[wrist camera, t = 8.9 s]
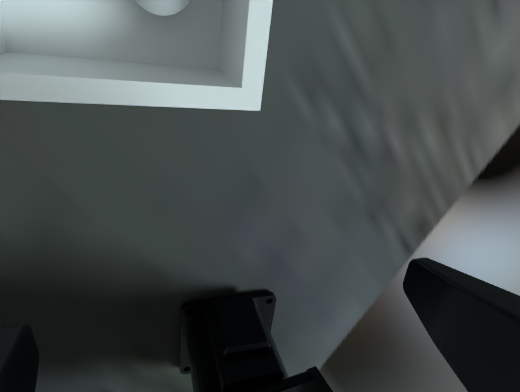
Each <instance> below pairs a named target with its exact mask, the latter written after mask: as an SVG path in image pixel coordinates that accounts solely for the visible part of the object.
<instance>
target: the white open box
mask: <svg viewBox="0 0 520 392" xmlns="http://www.w3.org/2000/svg"><path fill="white" fill-rule="evenodd" d="M272 3H273V0H0V100H19V101H42V102H66V103H89V104H113V105H136V106H160V107H183V108H206V109H230V110H253V111H260V107H261V99H262V90H263V81H264V73H265V64H266V55H267V46H268V38H269V29H270V20H271V12H272Z"/></svg>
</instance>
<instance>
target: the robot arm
mask: <svg viewBox="0 0 520 392" xmlns="http://www.w3.org/2000/svg"><path fill="white" fill-rule="evenodd" d="M403 289H404V292H405V294H406V295H407V297H408V299H409V301H410V302H411V304H412V306H413V308H414V310H415V311H416V313H417V315H418V316H419V318H420V320H421V322H422V323H423V325H424V327H425V328H426V330H427V332H428V334H429V335H430V337H431V339H432V341H433V342H434V344H435V345H436V347H437V348H438V350H439V351H440V353H441V354H442V356H443V357H444V358H445V360H446V361H447V363H448V364H449V365H450V367H451V368H452V370H453V371H454V373H455V374H456V375H457V377H458V378H459V380H460V381H461V383H462V384H463V386H464V387H465V388H466V390H467V391H468V392H520V296H519V295H516V294H514V293H511V292H509V291H506V290H504V289H501V288H499V287H497V286H494V285H492V284H489V283H487V282H485V281H482V280H480V279H477V278H475V277H472V276H470V275H467V274H465V273H463V272H460V271H458V270H455V269H453V268H451V267H448V266H445V265H443V264H441V263H438V262H436V261H434V260H431V259H429V258H418V259H413V260H411V261H410V263H409V265H408V268H407V271H406V275H405V278H404V281H403ZM269 298H270V299H269ZM267 299H268V300H267ZM275 304H276V297H275V295H274V293H273V292H262V293H254V294H246V295H238V296H230V297H222V298H214V299H206V300H198V301H190V302H186V303H184V304H183V305H182V306H181V311H180V360H179V367H180V372H181V373H182V374H189V373H191V377H192V384H193V391H194V392H333V391H332V390H331V388H330V387H329V385H328V384H327V383H326V381H325V379H324V378H323V376H322V375H321V373H320V372H319V370H318V369H317V367H316V366H315V367H312V368H309V369H307V371H306V372H303V373H300V374H297V375H294V376H291V377H288V375H287V372H286V370H285V367H284V365H283V362H282V360H281V357H280V355H279V353H278V350H277V348H276V345H275V343H274V340H273V338H272V335H271V333H270V332H271V326H272V321H273V315H274V309H275ZM187 309H191V310H187ZM38 365H39V351H38V348H37V345H36V342H35V339H34V335H33V332H32V329H31V327H30V325H29V324H28V323H25V322H23V323H17V324H11V325H6V326H3V327H2V328H1V329H0V392H35V387H36V380H37V372H38Z"/></svg>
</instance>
